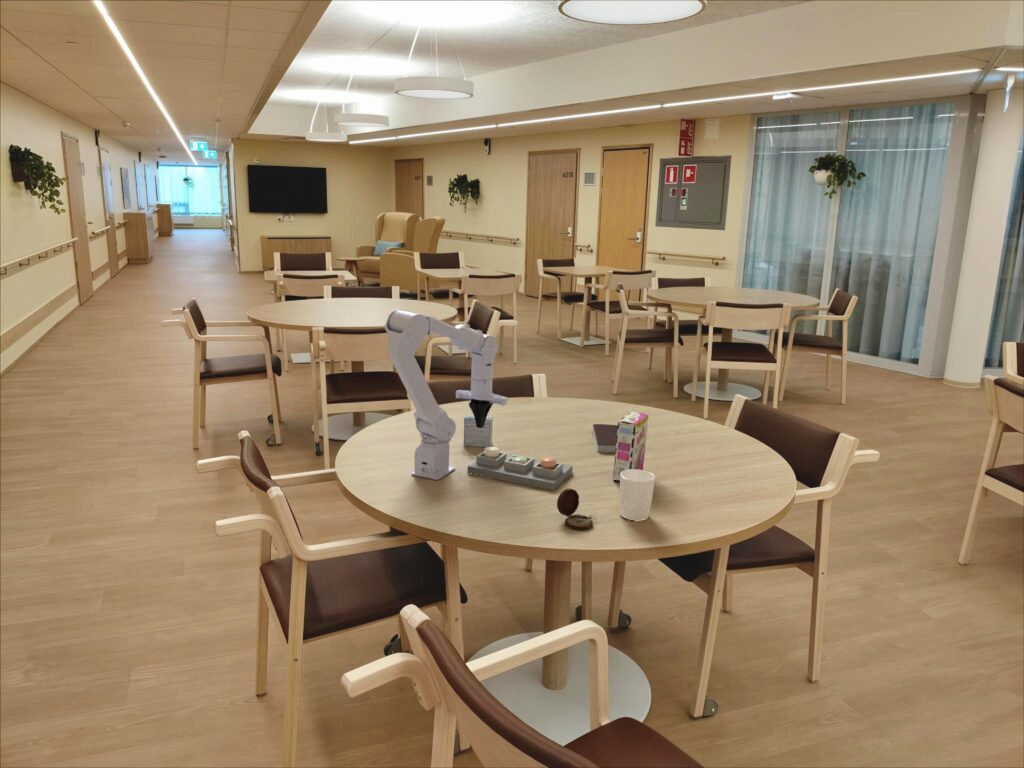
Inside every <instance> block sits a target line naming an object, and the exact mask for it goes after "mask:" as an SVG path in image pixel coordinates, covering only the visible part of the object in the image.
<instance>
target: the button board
mask: <svg viewBox="0 0 1024 768" xmlns="http://www.w3.org/2000/svg"><path fill="white" fill-rule="evenodd" d="M513 457H525V458H527V463H525V464H520V463H515V462H512V458H513ZM573 467H574V466H573V465H570V464H563V463H561V462H556V468H555V469H553V470H551V469H546V468H541V467H540V459H538V458H535V457H529V456H528V457H527V456H522V455H517V454H511V453H506V452H501V451H499V457H498V458H497V459H494V458H488V457H484V451H482V452H481V453H479V454H478V455H476V459H475V460H474V461H473V462H472V463H470V464H469V465H467V474H469V473H472V474H471V475H474V474H477V475H476V476H478V475H482V476H481V477H483V476H486V477H485V478H488V477H491V478H490V479H493V478H495V480H498V479H499V481H503V480H504V482H508V481H509V482H508V483H513V482H514V484H518V483H519V484H518V485H523V486H528V485H529V487H533V486H534V488H538V487H539V488H538V489H544V490H547V491H548V490H549V491H554V490H555V489H557V488H558V487H559V486H560V485H561V484H562V483H564V481H565V480H566V479H567V478H569V476H570V474H571V473H572V474H573ZM572 474H571V475H572Z"/></svg>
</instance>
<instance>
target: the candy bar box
mask: <svg viewBox="0 0 1024 768" xmlns="http://www.w3.org/2000/svg"><path fill="white" fill-rule="evenodd" d="M648 422H649V414H646V413H643V412H642V413H641V412H635V411H631V412H630V413H628V414H627V415H625V416H623V417H622V418H621V419H619V420H618V421H617V425H618V429H617V440H616V451H615V453H614V454H615V455H614V463H613V473H612V481H613V480H617V481H620V473H621V472H622V471H624V470H629V469H638V470H644V463H645V462H644V461H645V450H646V442H647V441H646V440H647V433H648V432H647V431H648Z"/></svg>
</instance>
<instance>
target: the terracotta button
mask: <svg viewBox="0 0 1024 768" xmlns="http://www.w3.org/2000/svg"><path fill="white" fill-rule="evenodd" d="M539 460H540V467H541V468H546V469H551V470H553V469H555V468H556V463H557V459H556V458H554V457H551V456H545V457H544V456H543V457H541V458H540V459H539Z"/></svg>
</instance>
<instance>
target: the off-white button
mask: <svg viewBox="0 0 1024 768" xmlns="http://www.w3.org/2000/svg"><path fill="white" fill-rule="evenodd" d="M483 449H484V450H483V452H484V457H488V458H494V459H497V458H498V457H499V452H500V448H498V447H496V446H491V447H484V448H483Z"/></svg>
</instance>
